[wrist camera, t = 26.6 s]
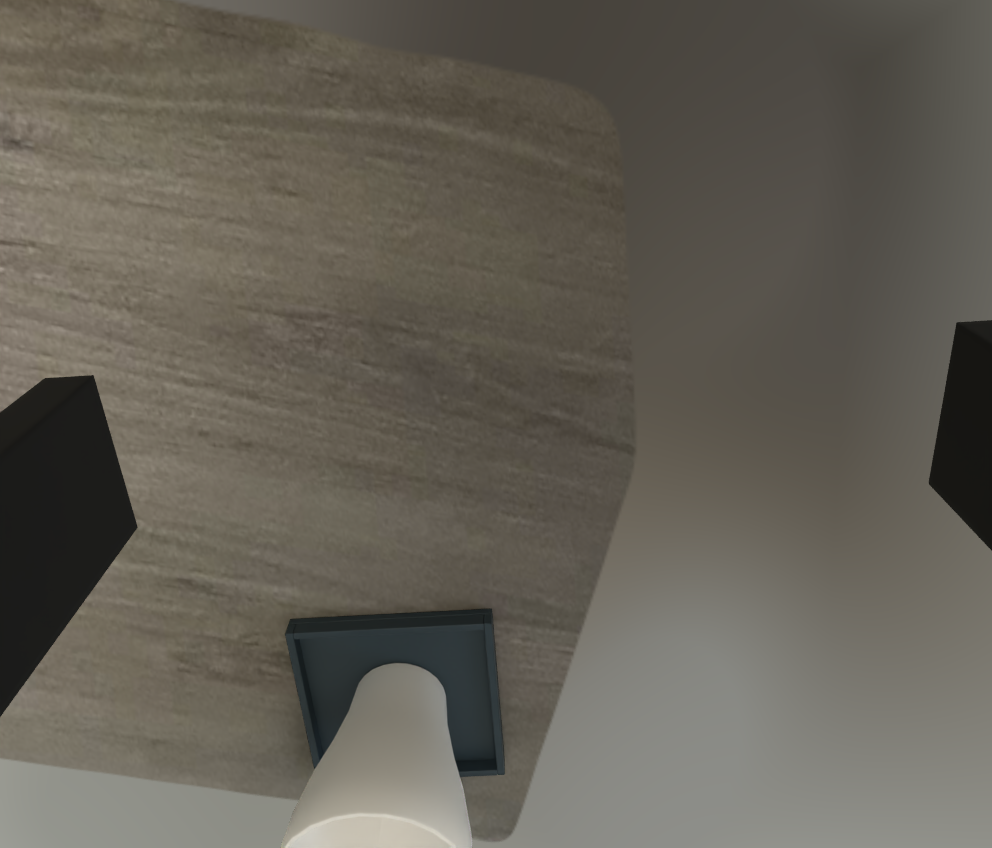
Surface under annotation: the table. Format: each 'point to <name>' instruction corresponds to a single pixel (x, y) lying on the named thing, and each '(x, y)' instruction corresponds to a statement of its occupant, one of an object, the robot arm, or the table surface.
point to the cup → (386, 772)
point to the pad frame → (412, 640)
